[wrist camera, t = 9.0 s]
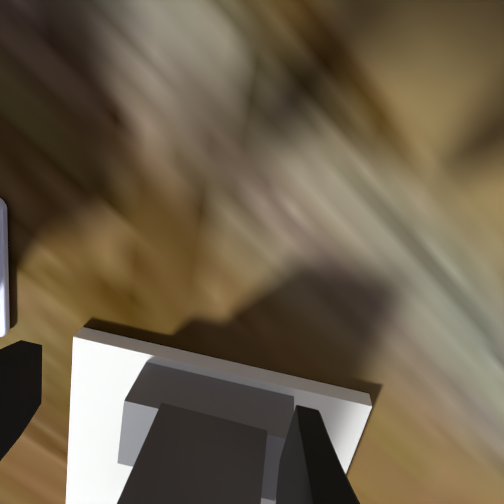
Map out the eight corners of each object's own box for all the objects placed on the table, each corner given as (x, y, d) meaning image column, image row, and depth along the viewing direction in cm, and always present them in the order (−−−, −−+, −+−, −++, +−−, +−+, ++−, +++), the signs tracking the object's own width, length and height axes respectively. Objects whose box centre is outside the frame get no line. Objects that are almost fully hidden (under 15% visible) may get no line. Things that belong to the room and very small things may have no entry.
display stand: (72, 512, 29) (38, 575, 25) (82, 326, 23) (40, 372, 19) (302, 568, 28) (302, 641, 24) (369, 393, 23) (382, 453, 19)
